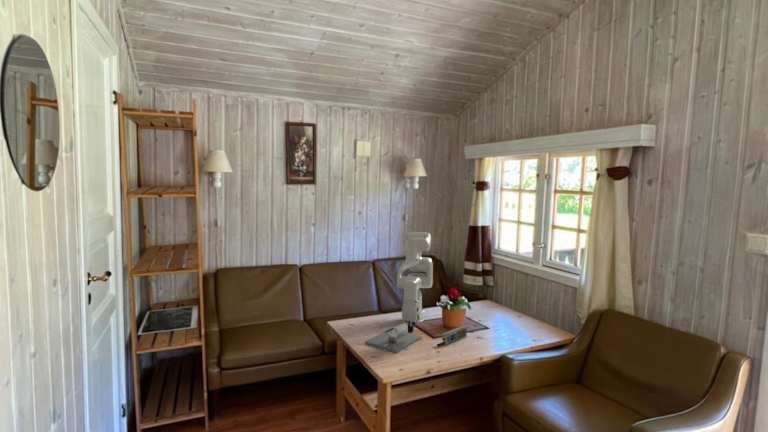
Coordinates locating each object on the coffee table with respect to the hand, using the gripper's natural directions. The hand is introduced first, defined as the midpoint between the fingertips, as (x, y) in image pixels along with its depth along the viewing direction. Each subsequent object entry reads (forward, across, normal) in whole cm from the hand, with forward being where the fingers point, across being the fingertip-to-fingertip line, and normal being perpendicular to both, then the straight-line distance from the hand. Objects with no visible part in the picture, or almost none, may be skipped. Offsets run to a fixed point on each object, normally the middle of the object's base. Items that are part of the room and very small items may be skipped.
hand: (410, 332), depth 248 cm
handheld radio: (+7, -18, -16) cm, 25 cm away
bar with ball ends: (+4, +7, +2) cm, 8 cm away
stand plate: (+6, +9, +4) cm, 12 cm away
